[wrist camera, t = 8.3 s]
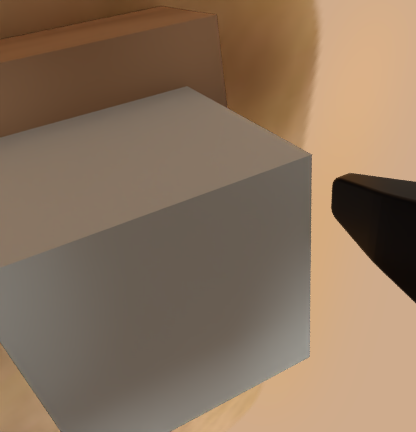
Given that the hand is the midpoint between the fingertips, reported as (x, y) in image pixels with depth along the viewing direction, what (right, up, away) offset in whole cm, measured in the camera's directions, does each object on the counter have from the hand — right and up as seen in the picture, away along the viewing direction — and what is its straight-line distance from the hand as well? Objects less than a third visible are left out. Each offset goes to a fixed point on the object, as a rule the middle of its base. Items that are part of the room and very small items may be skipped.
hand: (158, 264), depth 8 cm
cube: (-1, +1, +2) cm, 3 cm away
